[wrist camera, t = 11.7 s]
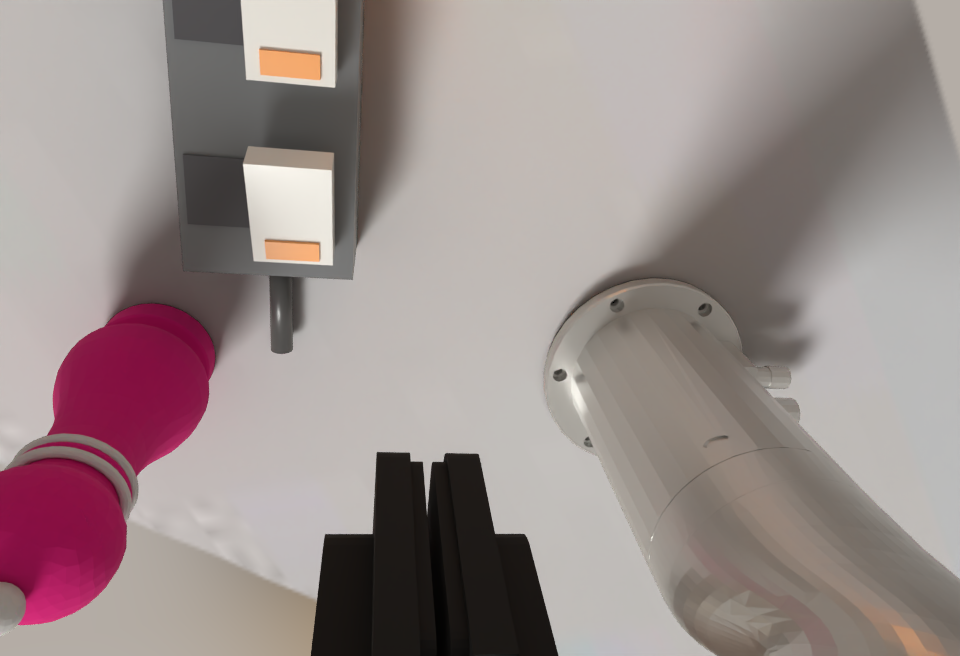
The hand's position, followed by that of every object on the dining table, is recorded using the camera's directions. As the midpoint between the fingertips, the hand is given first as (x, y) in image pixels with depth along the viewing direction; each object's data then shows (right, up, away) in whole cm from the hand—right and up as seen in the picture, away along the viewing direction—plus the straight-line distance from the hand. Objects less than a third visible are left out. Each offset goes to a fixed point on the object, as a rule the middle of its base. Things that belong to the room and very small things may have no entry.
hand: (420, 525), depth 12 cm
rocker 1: (-7, +16, +17) cm, 25 cm away
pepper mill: (-18, +2, +29) cm, 34 cm away
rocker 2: (-7, +9, +20) cm, 24 cm away
